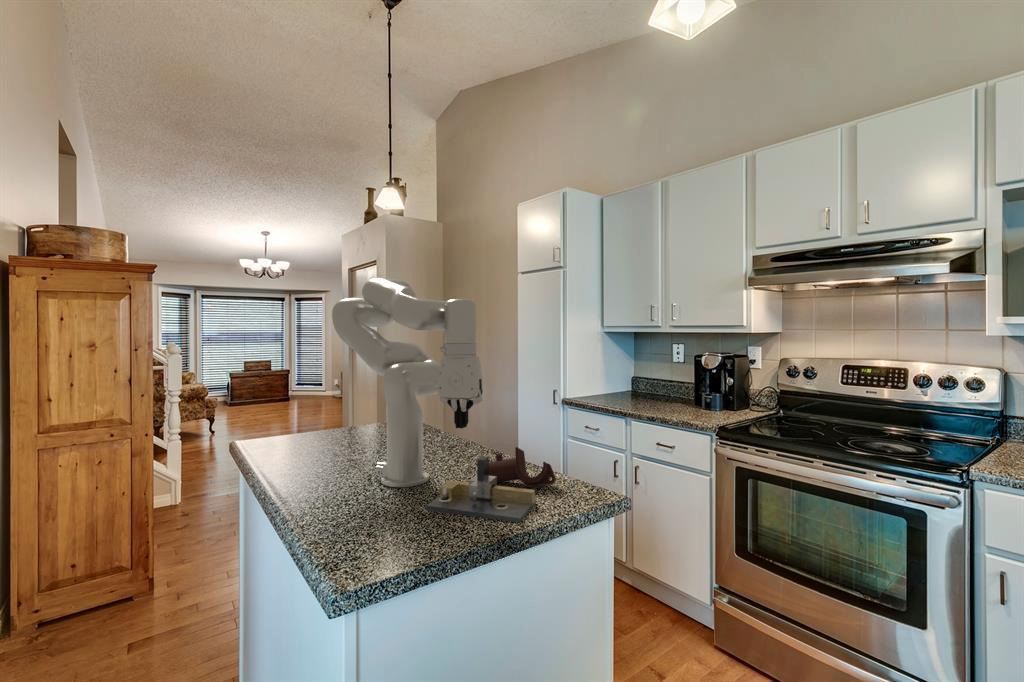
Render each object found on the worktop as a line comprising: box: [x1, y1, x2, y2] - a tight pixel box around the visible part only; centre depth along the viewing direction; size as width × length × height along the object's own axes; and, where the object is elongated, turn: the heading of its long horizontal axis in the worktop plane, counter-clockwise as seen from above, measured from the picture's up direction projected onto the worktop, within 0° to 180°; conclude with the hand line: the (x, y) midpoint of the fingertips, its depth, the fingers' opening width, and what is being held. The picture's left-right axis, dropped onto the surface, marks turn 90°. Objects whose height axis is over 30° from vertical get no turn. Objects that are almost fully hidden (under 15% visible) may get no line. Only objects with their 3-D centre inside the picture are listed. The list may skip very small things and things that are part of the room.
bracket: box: [489, 446, 557, 488], centre depth 124 cm, size 6×17×10 cm, turn 77°
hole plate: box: [425, 495, 537, 524], centre depth 107 cm, size 22×12×1 cm, turn 71°
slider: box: [468, 455, 498, 502], centre depth 110 cm, size 5×8×9 cm, turn 161°
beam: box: [439, 479, 536, 504], centre depth 109 cm, size 22×6×2 cm, turn 71°
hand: (461, 427), depth 113 cm, fingers closed
